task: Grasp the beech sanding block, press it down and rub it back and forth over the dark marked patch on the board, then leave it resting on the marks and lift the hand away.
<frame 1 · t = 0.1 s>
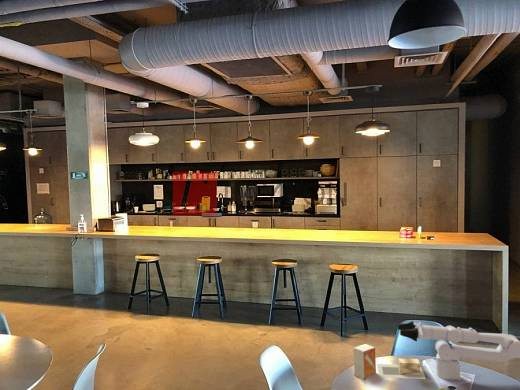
hand: (399, 329, 194), 22 cm above the table, tool horizontal, fingers open, 7 cm apart
board: (400, 373, 197), on the table
small box: (365, 375, 197), on the table
sanding block: (409, 371, 196), point 1 cm above the table, touching board
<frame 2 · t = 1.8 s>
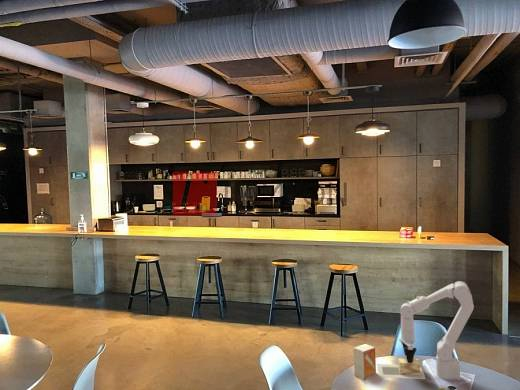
hand: (408, 359, 196), 7 cm above the table, tool pointing down, fingers open, 7 cm apart
nothing on the table moved.
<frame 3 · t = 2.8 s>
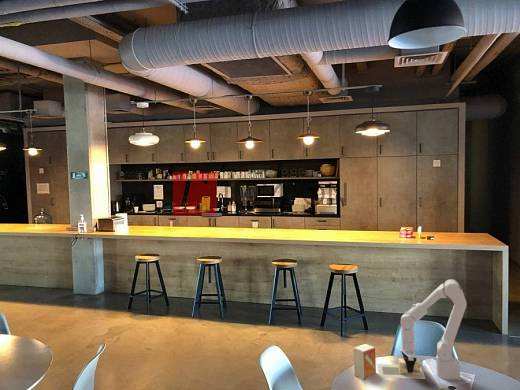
hand: (409, 369, 196), 2 cm above the table, tool pointing down, fingers closed on sanding block, 5 cm apart
sanding block: (409, 371, 196), point 1 cm above the table, touching board, gripper
everything else where it was.
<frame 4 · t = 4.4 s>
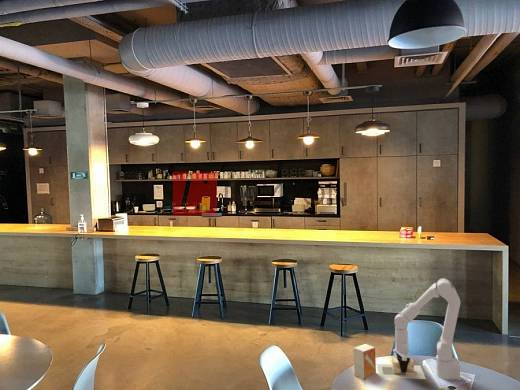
hand: (402, 369, 197), 2 cm above the table, tool pointing down, fingers closed on sanding block, 5 cm apart
sanding block: (403, 371, 197), point 1 cm above the table, touching gripper
everything else where it was.
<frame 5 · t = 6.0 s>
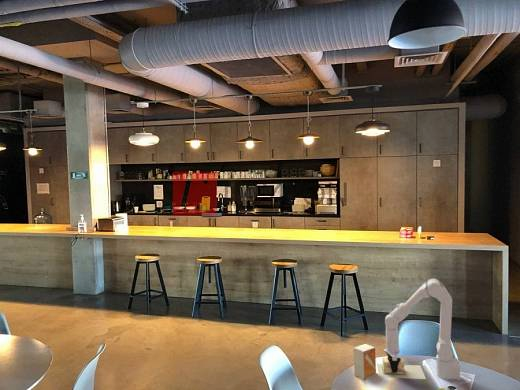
hand: (393, 369, 198), 2 cm above the table, tool pointing down, fingers closed on sanding block, 5 cm apart
sanding block: (393, 370, 198), point 1 cm above the table, touching gripper
everything else where it was.
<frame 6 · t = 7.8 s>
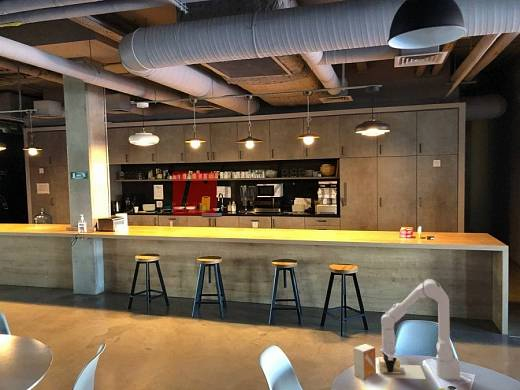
hand: (389, 369, 198), 2 cm above the table, tool pointing down, fingers closed on sanding block, 5 cm apart
sanding block: (389, 370, 198), point 1 cm above the table, touching gripper
everything else where it was.
when the fingers open (2 cm above the table, at t = 9.5 s): sanding block stays where it is, resting on board.
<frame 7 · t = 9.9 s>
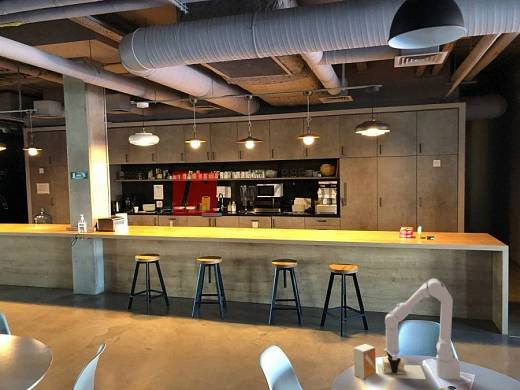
hand: (393, 369, 198), 2 cm above the table, tool pointing down, fingers open, 7 cm apart
sanding block: (393, 370, 198), point 1 cm above the table, touching board
everything else where it was.
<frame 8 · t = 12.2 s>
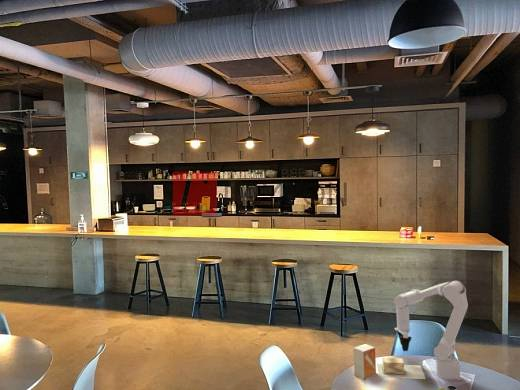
hand: (404, 347, 203), 9 cm above the table, tool pointing down, fingers open, 7 cm apart
nothing on the table moved.
at the end: sanding block 0.1 cm from the target spot on the board, point 1.0 cm above the board's base; sanding block tilted 0°; the gripper is holding nothing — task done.
